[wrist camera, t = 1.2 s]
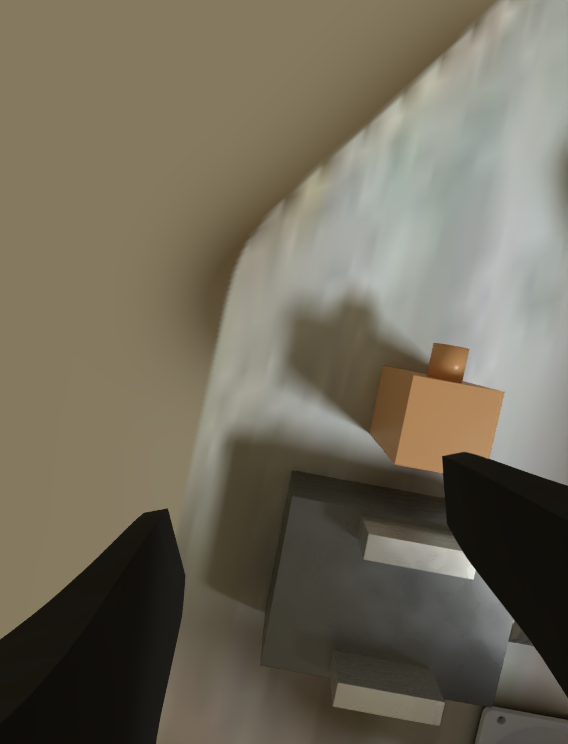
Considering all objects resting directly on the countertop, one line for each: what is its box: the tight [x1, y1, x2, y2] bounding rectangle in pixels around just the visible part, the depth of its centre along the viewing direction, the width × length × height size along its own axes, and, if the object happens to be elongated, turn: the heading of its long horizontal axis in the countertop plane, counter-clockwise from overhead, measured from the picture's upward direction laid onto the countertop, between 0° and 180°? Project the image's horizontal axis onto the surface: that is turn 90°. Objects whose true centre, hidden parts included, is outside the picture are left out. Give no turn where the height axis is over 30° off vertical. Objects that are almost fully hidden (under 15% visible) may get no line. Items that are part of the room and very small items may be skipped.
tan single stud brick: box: [369, 343, 505, 473], centre depth 21 cm, size 4×6×6 cm
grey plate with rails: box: [260, 471, 533, 726], centre depth 22 cm, size 14×9×6 cm, turn 80°
